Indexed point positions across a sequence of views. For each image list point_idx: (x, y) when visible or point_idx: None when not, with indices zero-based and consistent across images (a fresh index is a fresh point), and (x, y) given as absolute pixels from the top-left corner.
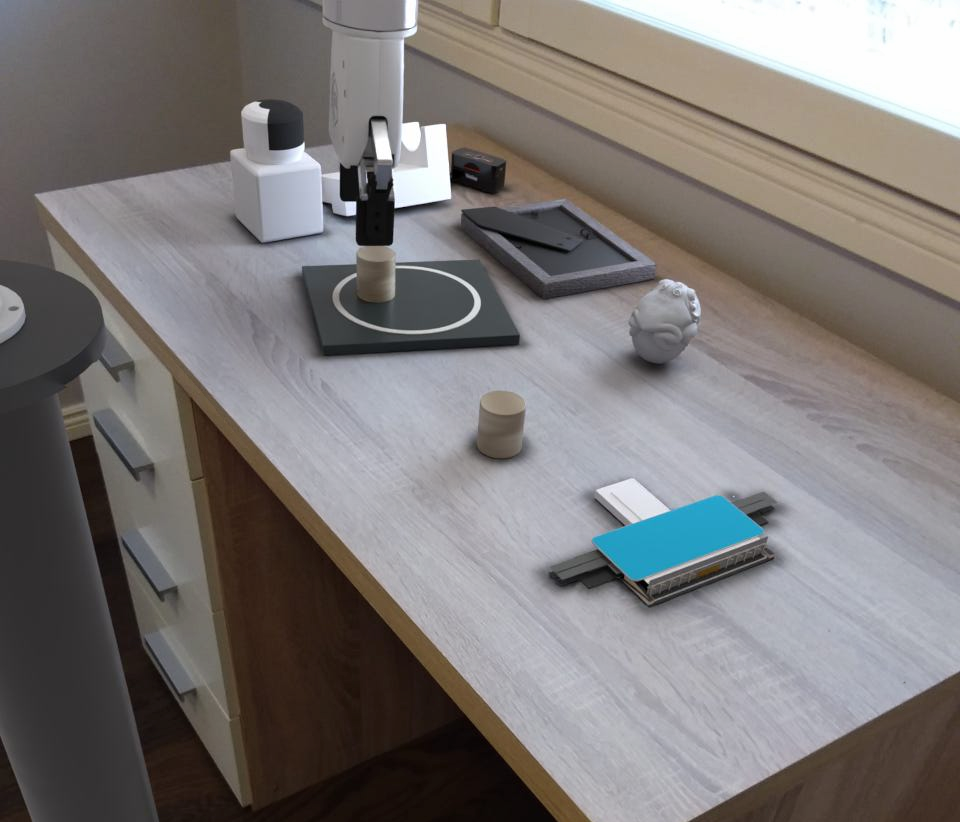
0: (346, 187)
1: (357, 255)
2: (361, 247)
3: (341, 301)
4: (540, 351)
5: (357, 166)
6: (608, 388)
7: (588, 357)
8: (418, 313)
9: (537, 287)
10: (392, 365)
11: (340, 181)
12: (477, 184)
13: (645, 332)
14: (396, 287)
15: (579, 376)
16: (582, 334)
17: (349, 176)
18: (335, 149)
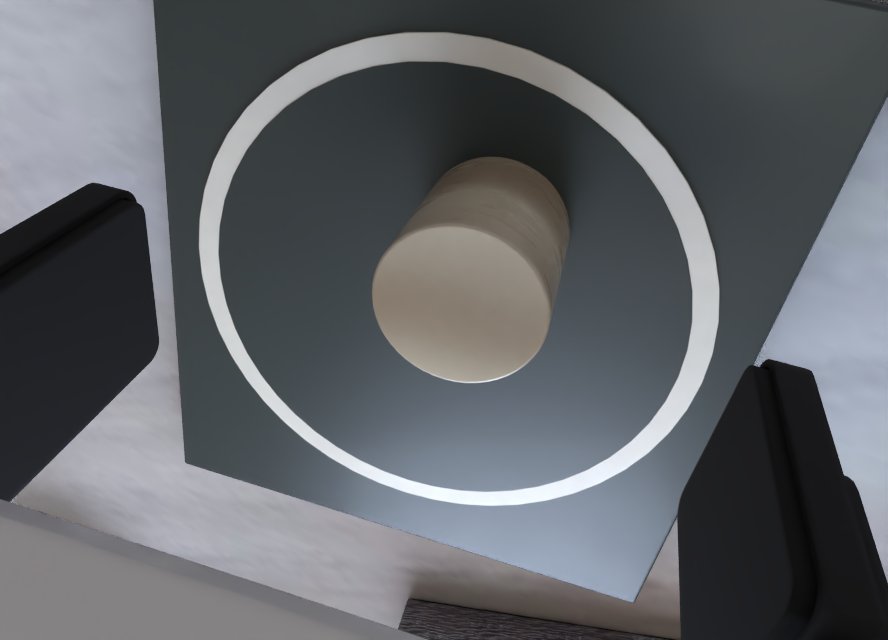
0: (748, 440)
1: (457, 223)
2: (538, 276)
3: (474, 73)
4: (168, 465)
5: (735, 622)
6: (23, 488)
7: (140, 525)
8: (324, 296)
9: (437, 617)
10: (106, 96)
11: (789, 439)
12: None
13: None
14: None
15: (65, 471)
16: (235, 568)
17: (749, 516)
18: (63, 568)
